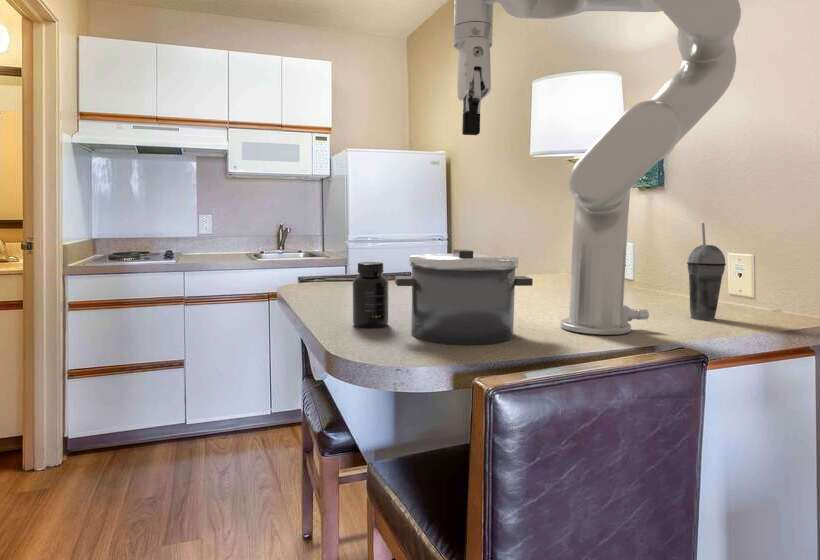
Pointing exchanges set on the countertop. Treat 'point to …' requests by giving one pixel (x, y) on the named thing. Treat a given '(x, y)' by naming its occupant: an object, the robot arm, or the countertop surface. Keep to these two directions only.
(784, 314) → the countertop surface
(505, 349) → the countertop surface
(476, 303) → the cooker pot
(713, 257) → the beverage cup
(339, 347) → the countertop surface
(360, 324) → the supplement bottle
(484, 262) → the lid
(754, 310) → the countertop surface
